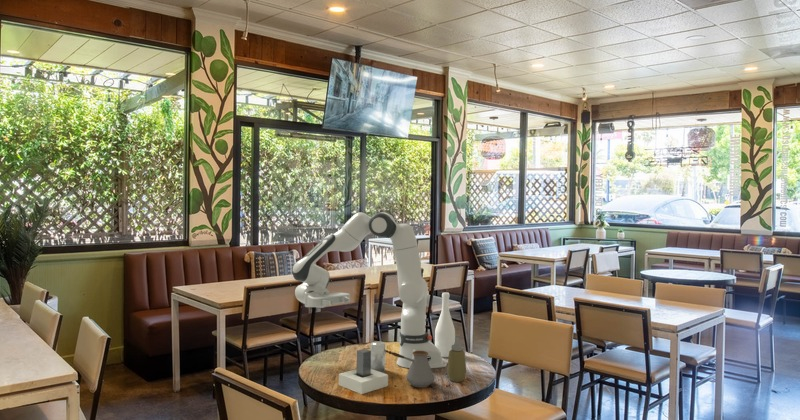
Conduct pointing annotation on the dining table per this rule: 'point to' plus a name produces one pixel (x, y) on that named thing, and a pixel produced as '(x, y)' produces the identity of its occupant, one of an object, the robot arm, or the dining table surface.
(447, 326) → the wine bottle
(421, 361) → the coffee pot
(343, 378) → the socket block
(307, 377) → the dining table surface
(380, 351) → the round bit
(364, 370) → the square bit
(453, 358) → the squeeze bottle
